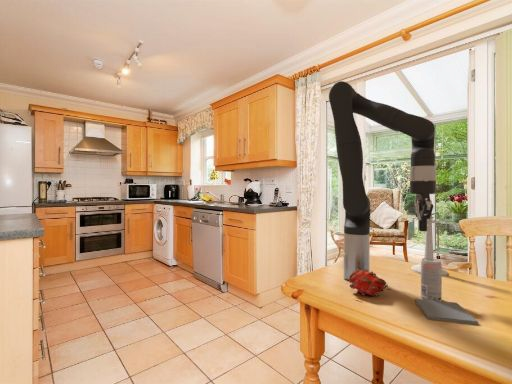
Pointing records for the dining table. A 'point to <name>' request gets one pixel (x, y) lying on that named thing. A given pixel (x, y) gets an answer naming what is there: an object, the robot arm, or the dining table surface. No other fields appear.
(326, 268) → the dining table surface
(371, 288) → the dragon fruit
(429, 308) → the mat
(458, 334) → the dining table surface
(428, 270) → the energy drink
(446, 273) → the candlestick
